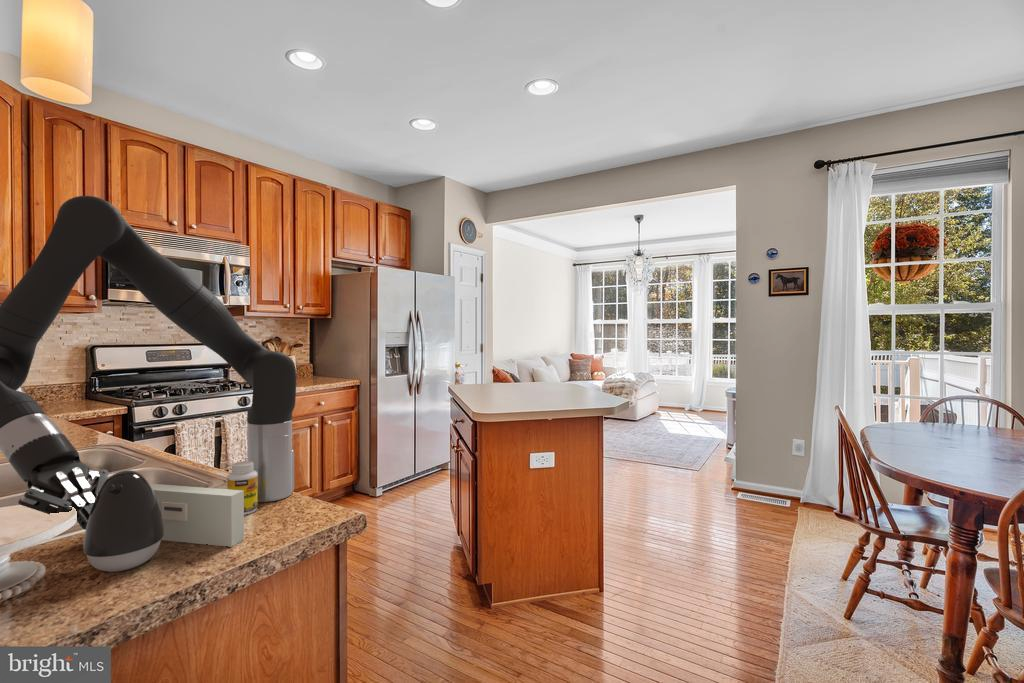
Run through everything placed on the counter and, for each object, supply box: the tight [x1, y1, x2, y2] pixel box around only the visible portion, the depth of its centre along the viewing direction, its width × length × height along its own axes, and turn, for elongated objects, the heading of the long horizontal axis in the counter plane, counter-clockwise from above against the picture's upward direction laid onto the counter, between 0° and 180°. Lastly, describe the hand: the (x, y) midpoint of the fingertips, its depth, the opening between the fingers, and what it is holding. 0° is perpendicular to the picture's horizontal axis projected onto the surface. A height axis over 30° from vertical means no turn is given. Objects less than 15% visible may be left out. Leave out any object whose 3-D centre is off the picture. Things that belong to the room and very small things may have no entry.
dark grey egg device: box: [82, 469, 164, 573], centre depth 79 cm, size 10×10×15 cm
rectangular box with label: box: [149, 483, 245, 548], centre depth 89 cm, size 3×26×9 cm, turn 80°
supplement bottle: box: [226, 460, 258, 516], centre depth 102 cm, size 6×6×10 cm
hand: (97, 526), depth 80 cm, fingers closed
